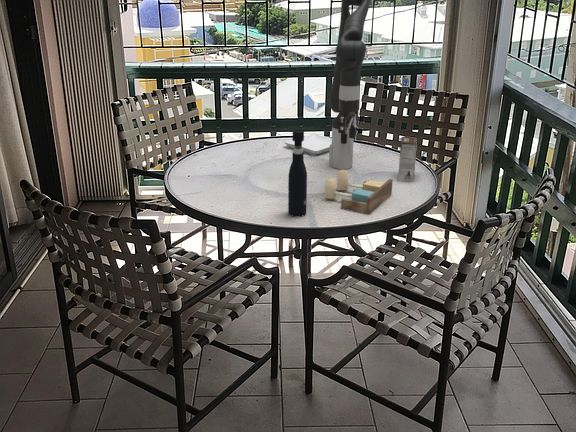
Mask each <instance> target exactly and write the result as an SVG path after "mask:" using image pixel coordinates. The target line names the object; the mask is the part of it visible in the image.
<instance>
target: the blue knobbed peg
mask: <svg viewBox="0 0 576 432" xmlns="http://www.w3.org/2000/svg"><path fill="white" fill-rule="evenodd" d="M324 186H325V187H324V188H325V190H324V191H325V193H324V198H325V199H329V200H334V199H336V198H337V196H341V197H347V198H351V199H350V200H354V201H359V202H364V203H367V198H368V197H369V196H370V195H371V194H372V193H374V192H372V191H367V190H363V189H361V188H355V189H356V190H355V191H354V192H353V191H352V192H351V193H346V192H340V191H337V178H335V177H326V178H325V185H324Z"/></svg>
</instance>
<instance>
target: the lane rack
mask: <svg viewBox="0 0 576 432" xmlns="http://www.w3.org/2000/svg"><path fill="white" fill-rule="evenodd" d="M366 181H367V180H365V181H363V184H364V183H365V182H366ZM383 183H384V184H383V185H382V186H381V187H380V188H378V189H377V190H376V191H375V192H374V193H372V194H371V195H370V196H369V197H368V198H367V203H364V202H359V201H354V200H351V199H349V198H348V199H347V198H341V199H340V200H341V201H340V209H342V208H344V209H343V210H347V209H348V210H347V211H351V210H352V212H356V213H357V212H358V213H361V212H362V214H367V215H371V214H372V213H373V212H374V211H375V210H376V209H377V208H378V207H379V206H380V205H382V204H383V203H384V202H385V201H386V200H387V199H388V198H390V196H392V193H393V179H392V178H389V179H388V180H387V181H385V182H383ZM356 189H357V188H355V189H353V190H352V192H354V191H355V190H356Z"/></svg>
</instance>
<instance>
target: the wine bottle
mask: <svg viewBox="0 0 576 432" xmlns="http://www.w3.org/2000/svg"><path fill="white" fill-rule="evenodd" d="M304 136H305V131H304V130H303V129H294V130H292V139H293V141H295V142H294V146H295V147H294V148H292V150H293V152H292V159H291V160H292V161H291V164H290V167H289V171H288V180H287V181H288V196H287V197H288V201H287V202H288V204H287V206H288V207H287V210H288V211H287V212H288V213H289V214H290V215H293V216H292V217H294V216H301V217H303V216H302V215H304V216H306V215H307V203H308V202H307V199H308V194H307V193H308V192H307V191H308V189H307V188H308V172H307V167H306V164H305V161H304V153H305V152H304V151H302V150H303V148H302V141H304ZM289 214H288V215H289ZM305 214H306V215H305ZM290 215H289V216H290Z"/></svg>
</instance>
